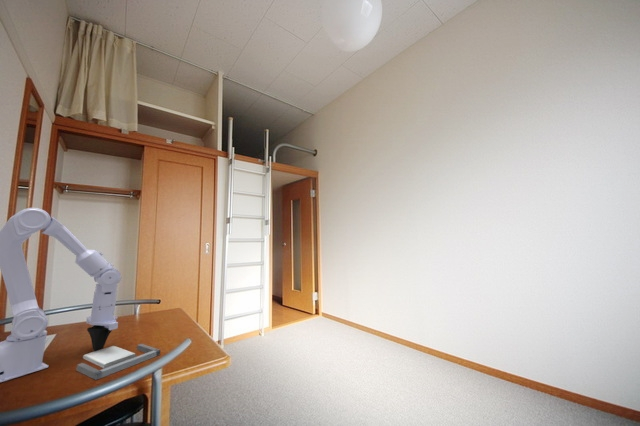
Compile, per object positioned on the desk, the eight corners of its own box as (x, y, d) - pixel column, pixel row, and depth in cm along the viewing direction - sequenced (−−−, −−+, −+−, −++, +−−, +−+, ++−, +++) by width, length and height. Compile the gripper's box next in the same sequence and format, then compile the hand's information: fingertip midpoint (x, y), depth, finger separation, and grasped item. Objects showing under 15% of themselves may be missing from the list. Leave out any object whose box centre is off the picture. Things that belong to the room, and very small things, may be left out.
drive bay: (95, 380, 63) (96, 373, 63) (76, 370, 67) (77, 364, 67) (160, 354, 77) (160, 349, 78) (140, 348, 82) (141, 343, 82)
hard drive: (136, 353, 76) (115, 344, 81) (104, 364, 69) (83, 354, 74) (135, 358, 76) (114, 350, 81) (103, 370, 69) (82, 360, 74)
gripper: (130, 305, 80) (125, 349, 79) (106, 300, 86) (101, 340, 85) (104, 310, 74) (98, 358, 72) (80, 304, 80) (74, 348, 78)
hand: (98, 349), depth 78 cm, fingers closed
